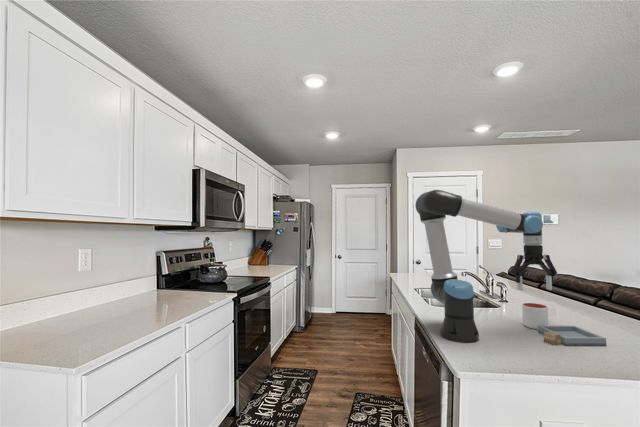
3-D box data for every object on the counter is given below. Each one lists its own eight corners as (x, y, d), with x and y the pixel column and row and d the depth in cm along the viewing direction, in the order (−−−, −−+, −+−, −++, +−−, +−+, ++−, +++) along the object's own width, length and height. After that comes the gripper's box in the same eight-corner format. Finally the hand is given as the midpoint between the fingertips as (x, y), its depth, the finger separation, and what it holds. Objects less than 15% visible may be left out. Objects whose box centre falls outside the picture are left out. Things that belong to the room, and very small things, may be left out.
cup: (552, 331, 144) (552, 308, 145) (528, 329, 146) (527, 307, 147) (542, 324, 154) (541, 303, 154) (519, 323, 156) (518, 302, 156)
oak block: (553, 345, 127) (553, 335, 127) (543, 342, 130) (543, 332, 131) (560, 344, 128) (560, 334, 128) (550, 341, 132) (550, 331, 132)
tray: (565, 345, 126) (565, 338, 126) (538, 332, 142) (538, 325, 142) (606, 345, 126) (605, 338, 126) (574, 332, 142) (574, 325, 142)
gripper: (511, 245, 148) (512, 291, 147) (565, 244, 148) (567, 291, 147) (502, 244, 156) (503, 288, 155) (553, 243, 155) (555, 287, 154)
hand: (534, 289), depth 151 cm, fingers open, 13 cm apart
